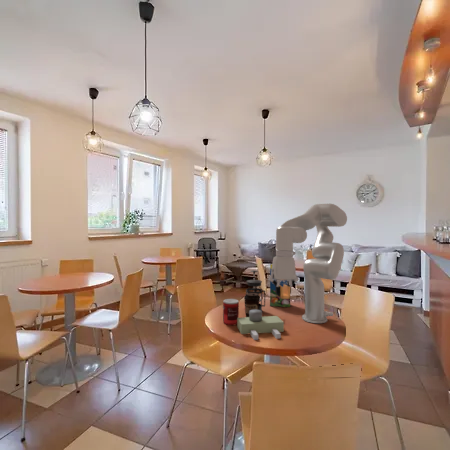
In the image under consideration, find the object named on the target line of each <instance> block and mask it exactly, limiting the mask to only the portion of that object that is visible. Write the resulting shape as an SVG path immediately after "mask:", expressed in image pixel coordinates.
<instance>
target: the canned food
mask: <svg viewBox="0 0 450 450" xmlns="http://www.w3.org/2000/svg"><path fill="white" fill-rule="evenodd" d="M239 304H240V302H239V299H236V298H226V299H224V300H223V301H222V308H223V310H222V311H223V312H222V316H223V317H222V321H223V323H224V324H225V325H227V326H235V325H237V318H240V317H239V313H240V312H239V307H240V306H239Z"/></svg>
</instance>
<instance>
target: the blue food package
mask: <svg viewBox="0 0 450 450" xmlns="http://www.w3.org/2000/svg"><path fill="white" fill-rule="evenodd" d="M269 266H270V267H269V272H270V273H269V274H270V275H271V270H272V263H271V264H270V265H269ZM270 275H269V276H270ZM273 280H274V281H275V280H276V279H274V278H273ZM283 284H285V285H287V280H280V286H282V287H283ZM275 288H276V286H275V285H274V284H273V283H272V282H271V281H270V280H269V306H270V307H281V308H290V307H291V298H290V299H281V298H280V297H278V296H277V295H276V293H275Z"/></svg>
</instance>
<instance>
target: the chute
mask: <svg viewBox="0 0 450 450" xmlns="http://www.w3.org/2000/svg"><path fill="white" fill-rule="evenodd" d="M279 287H280V296H278V297H280V298H281V299H290V300H291V294H290V287H289V286H287V285H285V284H283V287H282V286H280V285H279Z"/></svg>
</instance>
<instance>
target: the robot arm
mask: <svg viewBox="0 0 450 450" xmlns="http://www.w3.org/2000/svg"><path fill="white" fill-rule="evenodd" d="M347 221H348V216H347V214H346V211H344V210H343V209H342V208H341V207H339V206H338V205H336V204H334V203H317V204H316V203H315V204H313V205H311V206H310V207H309V208H308V209H307V210H306V211H305V212H303V213H302V214H300V215H298V216H296V217H293V218H291V219H288V220H286V221H285V222H283V223H282V224H281V225H279V226H278V227H276V231H275V256H273V259H272V263H271V264H272V270H271V275H269V277H268V281H269V282H270V281H271V282H272V283H273V284H274V285H275V286H276V288H275V293H276V295H277V296H280V287H279V285H280V280H287V286H289V287H290V295H291V294H292V287H293V285H295V284H296V282H298V281H299V280H300V279H299V277H298V275H297V274H296V269H297V268H296V261H295V257H294V256H296V254H297V253H296V251H294V244H302V243H304V242H305V241H306V240H307V239H308V238H307V237H308V233H307V231H309V230H310V231H311V230H312V229H314V228H316V231H317V232H316V233H317V235H316V239H315V241H314V245H313V247H312V250H311V256H312V257H313V258H308V259H306V260H305V261H304V262H303V274H304V284H305V285H304V286H305V287H304V294H305V295H304V314H302V315H301V319H302V320H303V321H305V322H308V323H312V324H325V323H327V322H328V317H333V316H334V312H332V311H331V312H330V311H327V310H326V311H325V285H324V282H323V280H322V279H324V280H325V279H326V280H332V281H333V280H336V279H337V278H338V275H339V273H340V269H341V266H342V263H343V259H344V256H345V255H344V254H345V250H344V246H343V245H342V244H341V243H339V242H333V240H334V234H333V232H332V231H331V230H330V228H329V227H331V228H332V227H336V228H337V227H338V228H339V227H344V226H345V225H346V224H347ZM273 278H274V279H276V280H275V281H274V280H273Z"/></svg>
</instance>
